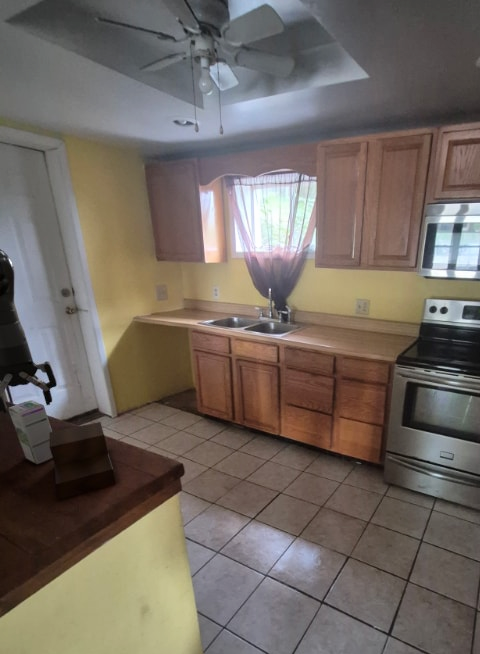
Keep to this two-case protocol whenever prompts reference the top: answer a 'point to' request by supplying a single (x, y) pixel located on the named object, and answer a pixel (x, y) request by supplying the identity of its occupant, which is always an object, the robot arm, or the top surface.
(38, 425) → the syrup box
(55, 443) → the shelf riser
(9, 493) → the top surface
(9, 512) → the top surface
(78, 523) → the top surface
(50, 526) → the top surface
